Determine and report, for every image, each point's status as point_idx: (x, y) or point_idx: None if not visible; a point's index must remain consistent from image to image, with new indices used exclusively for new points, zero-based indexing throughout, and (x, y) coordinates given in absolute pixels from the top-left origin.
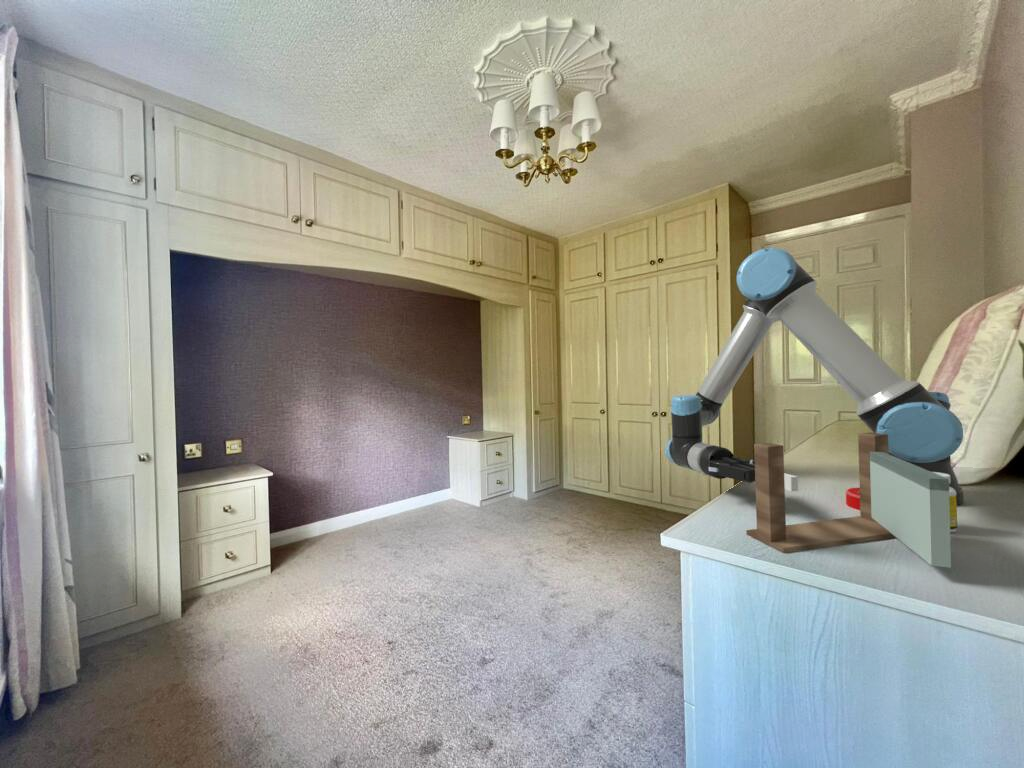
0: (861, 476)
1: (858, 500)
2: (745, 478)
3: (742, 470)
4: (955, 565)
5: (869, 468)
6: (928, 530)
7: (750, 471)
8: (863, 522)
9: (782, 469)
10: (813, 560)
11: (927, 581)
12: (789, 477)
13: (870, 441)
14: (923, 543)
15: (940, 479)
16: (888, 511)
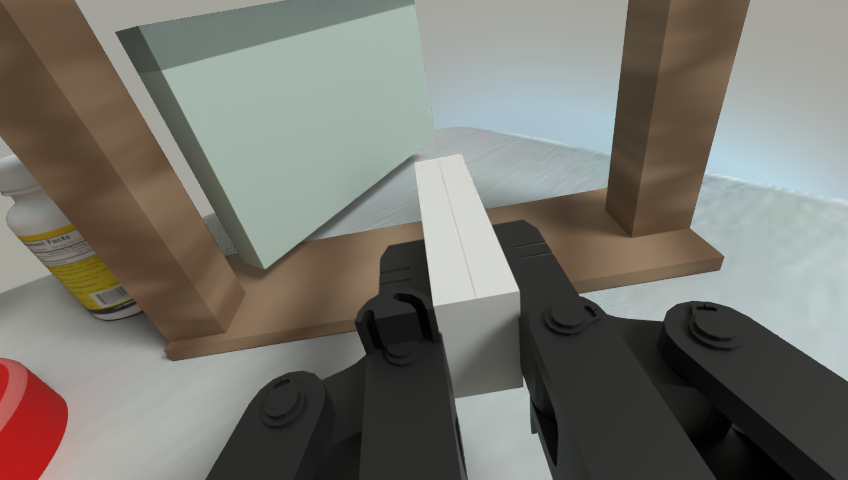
0: (139, 190)
1: (7, 444)
2: (734, 477)
3: (833, 387)
4: None
5: (133, 133)
6: (423, 85)
7: (697, 309)
8: (278, 295)
9: None
10: (578, 179)
11: (448, 155)
12: (462, 161)
13: None
14: (420, 119)
15: None
16: (330, 161)
